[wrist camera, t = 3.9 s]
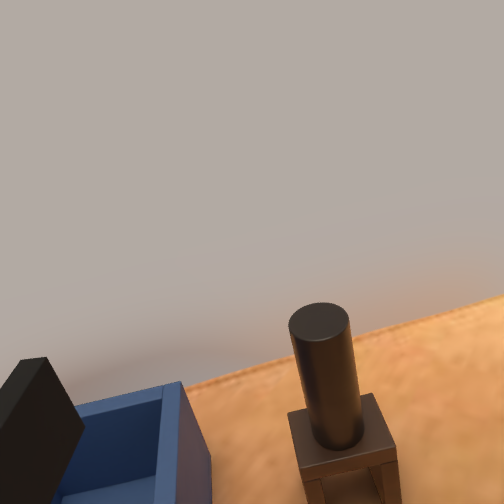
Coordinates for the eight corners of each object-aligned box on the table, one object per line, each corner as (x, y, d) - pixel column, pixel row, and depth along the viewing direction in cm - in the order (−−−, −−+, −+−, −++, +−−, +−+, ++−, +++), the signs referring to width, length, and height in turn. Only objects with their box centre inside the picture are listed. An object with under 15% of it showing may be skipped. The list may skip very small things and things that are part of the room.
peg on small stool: (380, 456, 32) (359, 285, 25) (403, 513, 28) (385, 333, 22) (302, 474, 32) (260, 309, 25) (315, 533, 28) (270, 360, 22)
